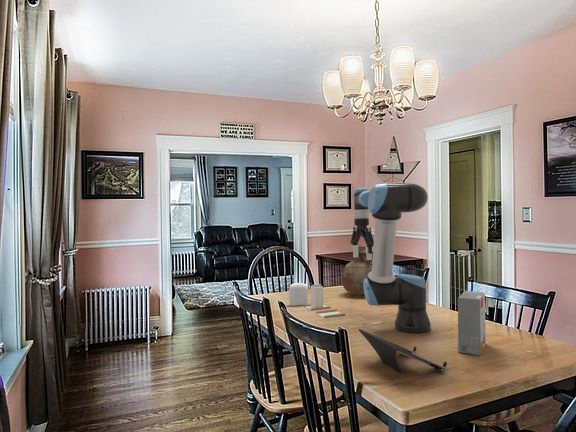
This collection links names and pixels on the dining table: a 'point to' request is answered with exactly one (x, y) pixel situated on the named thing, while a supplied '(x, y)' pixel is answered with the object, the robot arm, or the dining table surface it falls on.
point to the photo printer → (298, 294)
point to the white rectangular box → (317, 296)
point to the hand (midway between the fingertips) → (362, 258)
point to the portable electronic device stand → (394, 352)
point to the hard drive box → (471, 322)
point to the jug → (356, 274)
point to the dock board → (325, 311)
